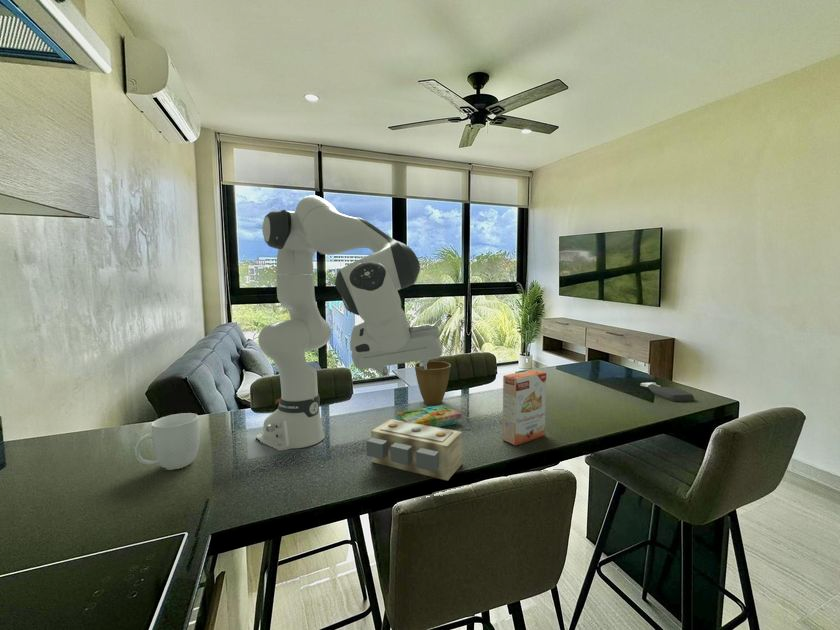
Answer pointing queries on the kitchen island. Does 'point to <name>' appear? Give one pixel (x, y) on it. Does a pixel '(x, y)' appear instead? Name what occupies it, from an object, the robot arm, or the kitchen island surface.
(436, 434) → the console
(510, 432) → the cracker box
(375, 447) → the button left
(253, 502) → the kitchen island surface
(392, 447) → the button middle
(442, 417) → the puzzle game
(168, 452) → the mug
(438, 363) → the plant pot
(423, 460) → the button right
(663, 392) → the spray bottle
